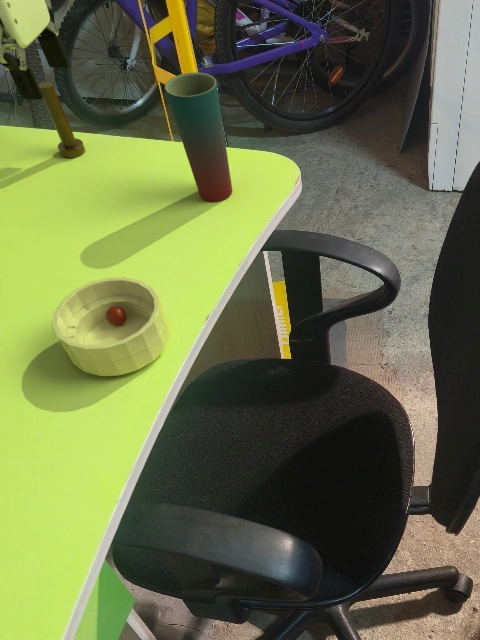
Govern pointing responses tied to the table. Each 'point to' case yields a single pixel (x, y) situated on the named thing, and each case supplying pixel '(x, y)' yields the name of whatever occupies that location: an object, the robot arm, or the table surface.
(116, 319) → the red ball
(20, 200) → the table surface
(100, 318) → the bowl
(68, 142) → the masher
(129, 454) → the table surface
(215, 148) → the cup
